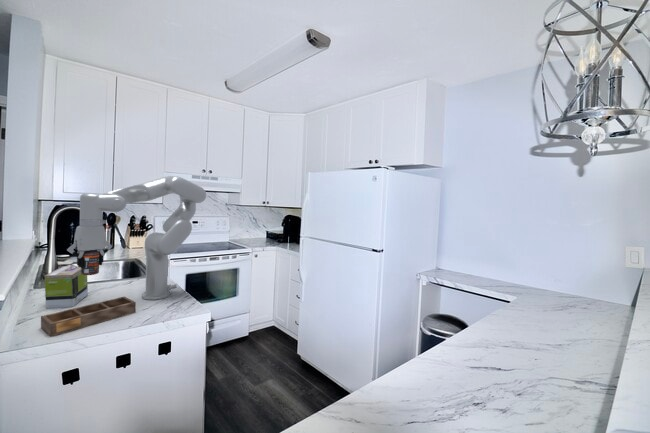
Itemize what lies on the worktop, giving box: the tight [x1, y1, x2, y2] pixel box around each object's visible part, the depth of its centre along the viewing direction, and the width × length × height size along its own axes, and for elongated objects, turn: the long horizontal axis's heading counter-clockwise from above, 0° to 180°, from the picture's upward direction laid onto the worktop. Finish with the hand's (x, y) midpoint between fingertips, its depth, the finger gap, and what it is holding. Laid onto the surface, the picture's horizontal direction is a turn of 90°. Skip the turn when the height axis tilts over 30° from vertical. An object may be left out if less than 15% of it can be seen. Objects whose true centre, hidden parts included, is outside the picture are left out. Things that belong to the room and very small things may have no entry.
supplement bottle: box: [81, 250, 100, 276], centre depth 126 cm, size 6×6×11 cm
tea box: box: [44, 265, 89, 309], centre depth 135 cm, size 15×10×15 cm, turn 18°
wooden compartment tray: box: [40, 296, 137, 337], centre depth 120 cm, size 28×10×5 cm, turn 148°
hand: (90, 265), depth 127 cm, fingers closed on supplement bottle, 6 cm apart
